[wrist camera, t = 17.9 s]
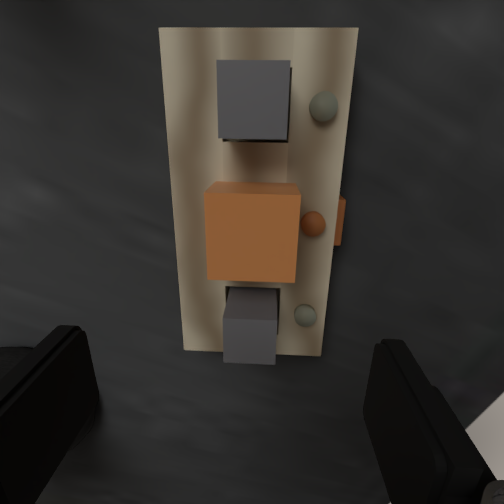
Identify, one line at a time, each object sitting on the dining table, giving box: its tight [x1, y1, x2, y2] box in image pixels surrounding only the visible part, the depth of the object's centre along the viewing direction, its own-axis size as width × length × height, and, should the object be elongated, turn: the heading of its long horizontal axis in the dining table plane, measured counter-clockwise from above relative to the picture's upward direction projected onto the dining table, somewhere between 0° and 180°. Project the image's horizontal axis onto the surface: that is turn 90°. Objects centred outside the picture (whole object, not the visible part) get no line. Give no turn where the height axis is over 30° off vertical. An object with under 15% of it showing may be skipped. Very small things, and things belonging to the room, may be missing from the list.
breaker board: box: [159, 28, 358, 356], centre depth 29 cm, size 15×28×5 cm, turn 179°
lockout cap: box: [204, 181, 301, 283], centre depth 25 cm, size 7×7×5 cm
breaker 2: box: [222, 286, 277, 365], centre depth 29 cm, size 4×4×6 cm
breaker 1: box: [216, 60, 291, 140], centre depth 22 cm, size 4×4×6 cm
